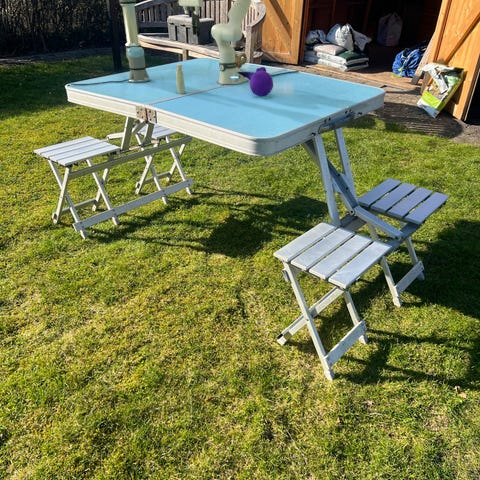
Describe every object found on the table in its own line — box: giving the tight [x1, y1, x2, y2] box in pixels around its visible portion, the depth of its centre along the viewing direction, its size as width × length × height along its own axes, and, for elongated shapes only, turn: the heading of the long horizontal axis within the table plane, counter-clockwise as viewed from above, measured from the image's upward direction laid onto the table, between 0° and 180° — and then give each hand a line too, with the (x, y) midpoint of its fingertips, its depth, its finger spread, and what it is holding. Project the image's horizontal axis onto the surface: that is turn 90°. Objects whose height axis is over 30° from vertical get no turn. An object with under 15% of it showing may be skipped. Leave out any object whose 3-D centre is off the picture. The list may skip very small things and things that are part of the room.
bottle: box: [175, 69, 186, 95], centre depth 298 cm, size 5×5×18 cm
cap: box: [175, 63, 183, 70], centre depth 294 cm, size 4×4×2 cm
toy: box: [237, 66, 274, 97], centre depth 289 cm, size 16×18×27 cm
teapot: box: [235, 51, 248, 70], centre depth 367 cm, size 21×12×15 cm, turn 120°
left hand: (196, 35), depth 349 cm, fingers open, 13 cm apart
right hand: (191, 14), depth 285 cm, fingers open, 8 cm apart
